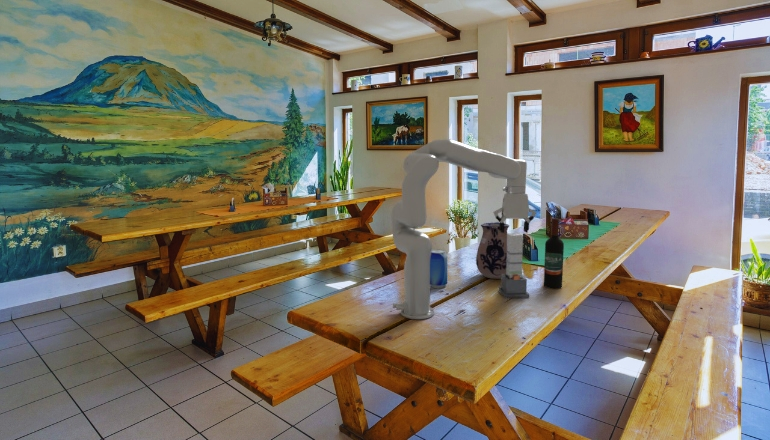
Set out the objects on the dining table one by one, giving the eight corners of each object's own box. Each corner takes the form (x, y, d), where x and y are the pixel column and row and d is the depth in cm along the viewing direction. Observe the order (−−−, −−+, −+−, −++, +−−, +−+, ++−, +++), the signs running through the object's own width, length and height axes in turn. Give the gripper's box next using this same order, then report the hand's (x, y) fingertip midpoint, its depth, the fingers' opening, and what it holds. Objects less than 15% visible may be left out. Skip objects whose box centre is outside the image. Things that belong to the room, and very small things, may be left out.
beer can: (450, 284, 208) (450, 249, 206) (442, 289, 201) (442, 254, 199) (433, 281, 213) (433, 248, 210) (425, 286, 206) (424, 251, 203)
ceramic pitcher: (476, 281, 212) (477, 228, 207) (475, 268, 232) (475, 220, 228) (515, 282, 209) (517, 228, 204) (511, 269, 229) (512, 220, 225)
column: (509, 278, 190) (510, 235, 187) (505, 275, 195) (506, 233, 192) (522, 278, 190) (523, 235, 187) (518, 274, 195) (519, 233, 192)
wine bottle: (564, 285, 203) (567, 218, 198) (557, 289, 197) (560, 221, 192) (548, 282, 208) (550, 216, 203) (540, 286, 203) (543, 219, 197)
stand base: (504, 298, 189) (505, 277, 187) (498, 290, 198) (498, 270, 197) (529, 297, 189) (529, 276, 187) (521, 289, 199) (522, 269, 197)
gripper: (496, 191, 182) (495, 233, 185) (540, 191, 182) (538, 233, 185) (492, 189, 190) (490, 230, 192) (534, 189, 190) (531, 230, 193)
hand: (513, 232), depth 189 cm, fingers open, 9 cm apart
